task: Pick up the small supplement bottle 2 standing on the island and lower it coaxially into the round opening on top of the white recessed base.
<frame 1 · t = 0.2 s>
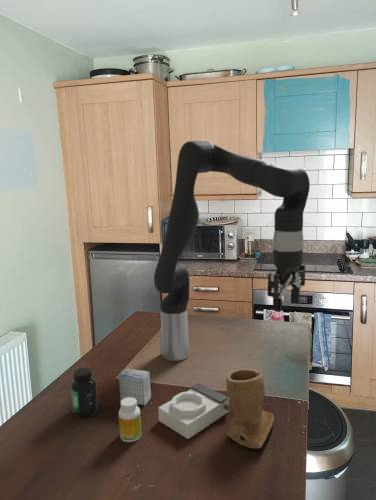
hand: (286, 306, 113), 29 cm above the table, fingers open, 8 cm apart
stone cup: (247, 430, 109), on the table
white recessed base: (194, 416, 115), on the table
medicine box: (136, 400, 124), on the table
supplement bottle 2: (130, 436, 108), on the table
supplement bottle: (85, 411, 119), on the table
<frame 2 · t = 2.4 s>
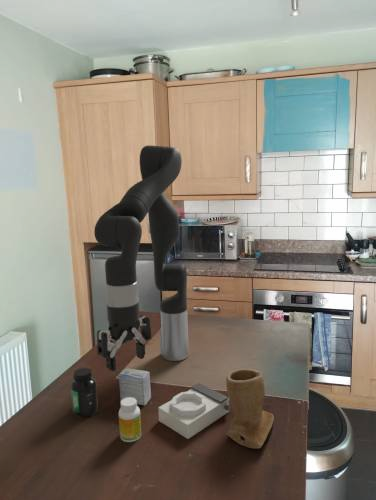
hand: (126, 363, 103), 20 cm above the table, fingers open, 8 cm apart
nothing on the table moved.
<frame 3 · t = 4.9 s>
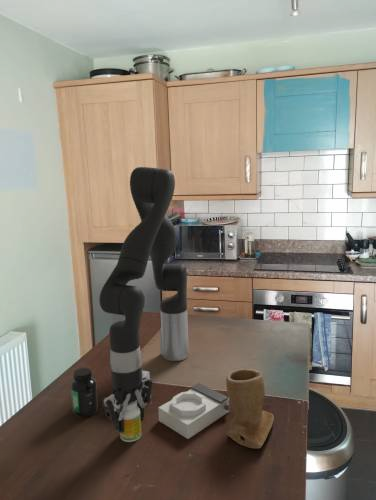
hand: (130, 425, 107), 3 cm above the table, fingers closed on supplement bottle 2, 5 cm apart
supplement bottle 2: (130, 436, 108), on the table, touching gripper
everything else where it was.
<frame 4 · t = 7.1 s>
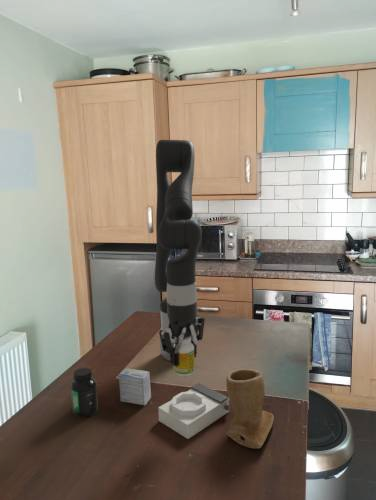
hand: (183, 360, 110), 17 cm above the table, fingers closed on supplement bottle 2, 5 cm apart
supplement bottle 2: (184, 372, 111), point 14 cm above the table, touching gripper
everything else where it was.
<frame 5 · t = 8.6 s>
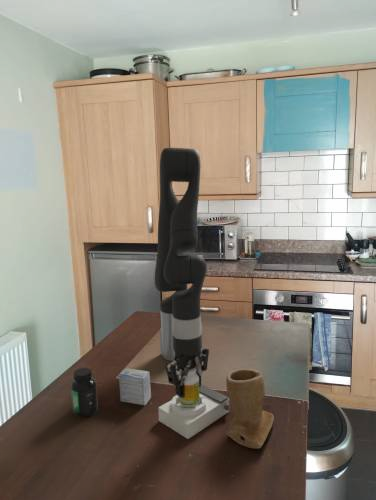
hand: (188, 391, 112), 8 cm above the table, fingers closed on supplement bottle 2, 5 cm apart
supplement bottle 2: (189, 402, 113), point 5 cm above the table, touching gripper
everything else where it was.
when the fingers open (7 cm above the table, at t = 9.6 s): supplement bottle 2 stays where it is, resting on white recessed base.
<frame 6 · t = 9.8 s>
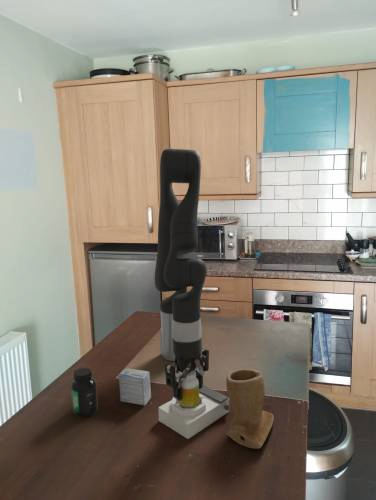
hand: (188, 393, 112), 8 cm above the table, fingers open, 7 cm apart
supplement bottle 2: (189, 406, 113), point 4 cm above the table, touching white recessed base
everything else where it was.
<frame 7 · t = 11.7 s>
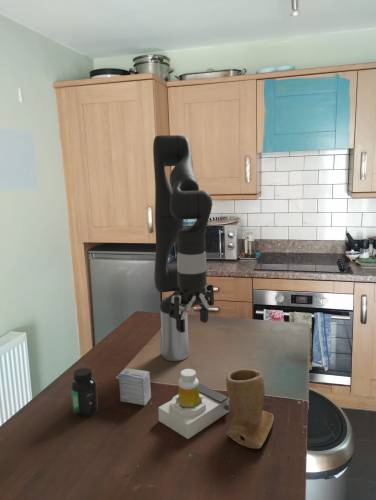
hand: (192, 326, 114), 24 cm above the table, fingers open, 8 cm apart
nothing on the table moved.
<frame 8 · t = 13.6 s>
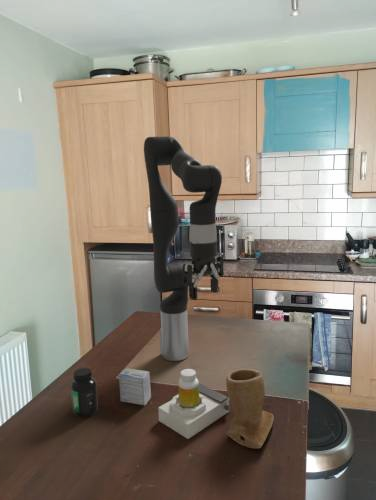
hand: (204, 295, 120), 30 cm above the table, fingers open, 8 cm apart
nothing on the table moved.
at the end: supplement bottle 2 0.1 cm from the target spot on the white recessed base, point 3.8 cm above the white recessed base's base; supplement bottle 2 tilted 0°; the gripper is holding nothing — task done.
